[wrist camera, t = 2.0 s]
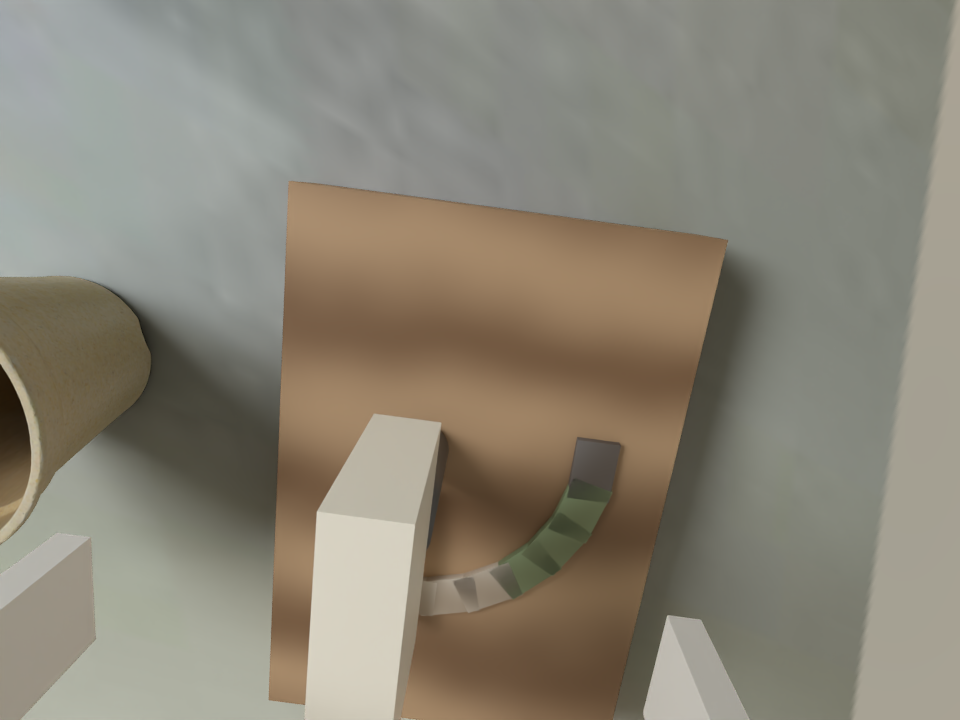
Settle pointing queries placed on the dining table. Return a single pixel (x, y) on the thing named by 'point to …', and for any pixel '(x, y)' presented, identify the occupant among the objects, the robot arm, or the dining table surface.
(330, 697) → the white angular block
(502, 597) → the tuner board
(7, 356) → the flower pot
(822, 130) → the dining table surface
